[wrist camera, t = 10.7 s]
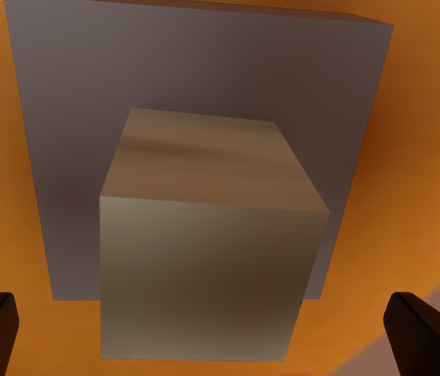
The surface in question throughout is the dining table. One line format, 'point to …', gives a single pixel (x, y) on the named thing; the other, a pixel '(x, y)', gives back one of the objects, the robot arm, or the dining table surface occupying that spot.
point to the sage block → (204, 239)
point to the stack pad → (182, 100)
